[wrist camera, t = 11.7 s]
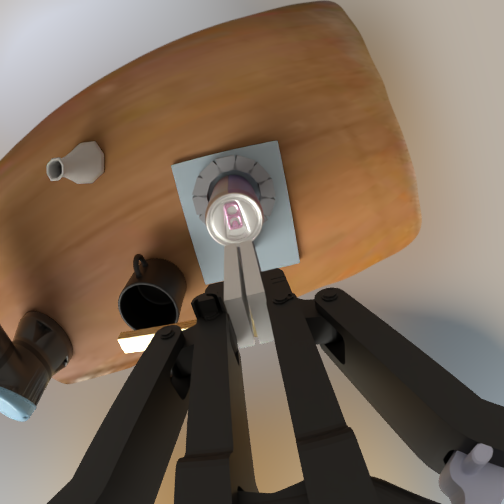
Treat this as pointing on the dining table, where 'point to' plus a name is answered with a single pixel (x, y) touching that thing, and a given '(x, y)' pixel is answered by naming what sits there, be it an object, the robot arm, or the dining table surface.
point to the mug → (152, 294)
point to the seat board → (267, 191)
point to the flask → (78, 164)
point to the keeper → (151, 336)
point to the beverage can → (233, 211)
